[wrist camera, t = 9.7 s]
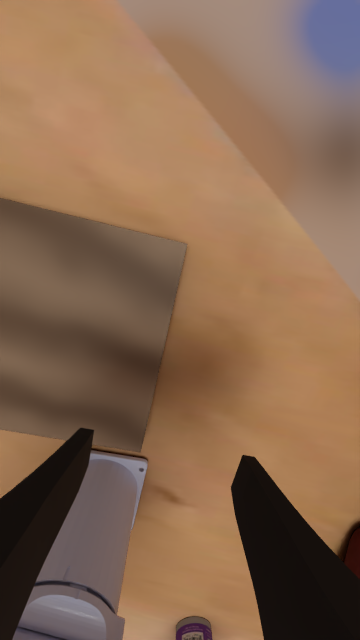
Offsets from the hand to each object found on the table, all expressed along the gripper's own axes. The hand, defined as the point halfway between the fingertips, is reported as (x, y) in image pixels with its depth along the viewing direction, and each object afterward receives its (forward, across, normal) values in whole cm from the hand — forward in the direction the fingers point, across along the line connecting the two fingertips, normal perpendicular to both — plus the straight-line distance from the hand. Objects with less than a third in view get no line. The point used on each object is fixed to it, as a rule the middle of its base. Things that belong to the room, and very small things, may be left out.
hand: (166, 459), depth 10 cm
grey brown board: (+9, +15, -2) cm, 18 cm away
